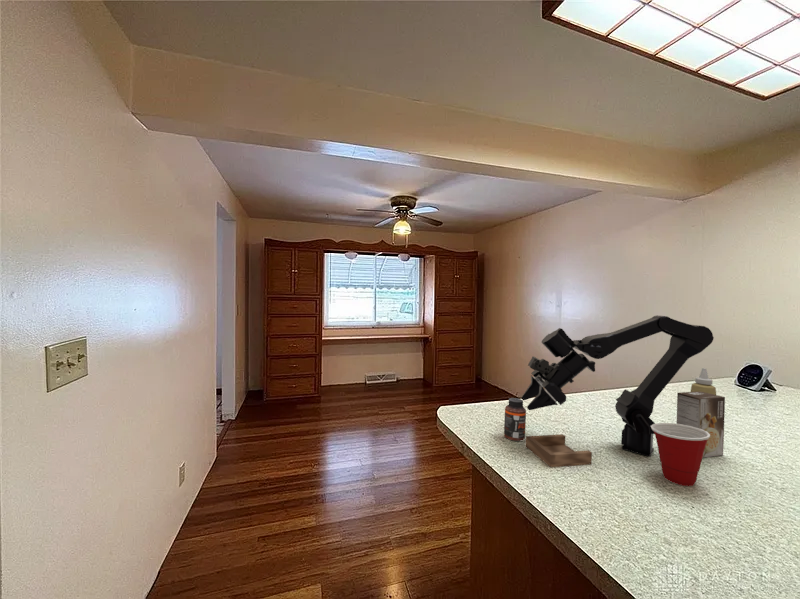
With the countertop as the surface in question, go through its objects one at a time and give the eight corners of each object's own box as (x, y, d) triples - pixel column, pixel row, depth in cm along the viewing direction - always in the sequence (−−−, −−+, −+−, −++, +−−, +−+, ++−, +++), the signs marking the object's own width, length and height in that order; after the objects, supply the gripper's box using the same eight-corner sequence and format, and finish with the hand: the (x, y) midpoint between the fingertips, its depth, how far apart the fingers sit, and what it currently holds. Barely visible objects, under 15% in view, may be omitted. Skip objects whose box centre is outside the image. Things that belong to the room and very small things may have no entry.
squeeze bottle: (723, 423, 120) (726, 371, 120) (700, 422, 120) (702, 370, 120) (703, 415, 128) (705, 366, 128) (681, 414, 128) (683, 366, 128)
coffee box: (698, 445, 100) (700, 390, 100) (724, 455, 94) (726, 397, 94) (674, 448, 98) (676, 392, 98) (699, 458, 92) (701, 398, 92)
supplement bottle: (521, 444, 98) (522, 404, 98) (500, 438, 101) (502, 399, 101) (527, 437, 103) (529, 399, 102) (508, 432, 106) (509, 395, 106)
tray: (562, 444, 98) (562, 434, 98) (591, 464, 87) (591, 452, 87) (525, 446, 96) (525, 436, 96) (550, 467, 85) (551, 455, 85)
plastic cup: (650, 463, 88) (652, 416, 88) (706, 478, 81) (708, 428, 81) (646, 480, 80) (649, 428, 80) (709, 498, 73) (712, 442, 73)
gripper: (539, 343, 109) (502, 375, 112) (555, 353, 91) (510, 391, 93) (565, 370, 108) (526, 402, 110) (586, 385, 90) (539, 423, 92)
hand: (525, 403), depth 101 cm, fingers open, 9 cm apart
